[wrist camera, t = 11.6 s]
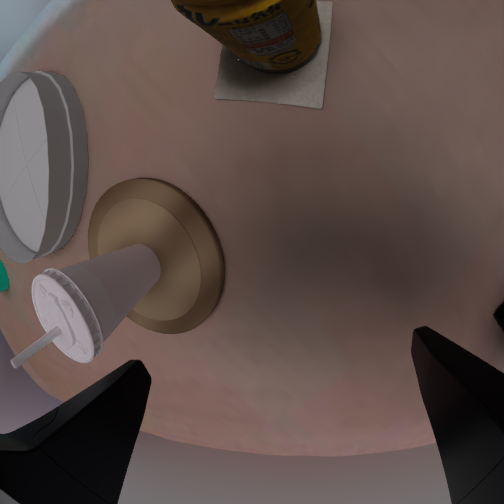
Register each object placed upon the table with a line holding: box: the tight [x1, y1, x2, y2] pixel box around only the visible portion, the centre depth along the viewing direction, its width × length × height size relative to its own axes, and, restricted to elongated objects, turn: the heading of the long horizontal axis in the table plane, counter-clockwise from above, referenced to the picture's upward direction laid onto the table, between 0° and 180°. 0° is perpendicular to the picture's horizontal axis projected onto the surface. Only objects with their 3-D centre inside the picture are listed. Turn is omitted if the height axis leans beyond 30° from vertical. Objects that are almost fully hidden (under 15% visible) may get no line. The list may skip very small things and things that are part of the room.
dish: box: [0, 71, 89, 264], centre depth 23 cm, size 22×22×5 cm
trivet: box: [88, 178, 224, 334], centre depth 23 cm, size 14×14×1 cm
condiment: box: [171, 0, 333, 109], centre depth 10 cm, size 7×8×12 cm
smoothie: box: [11, 244, 161, 368], centre depth 17 cm, size 6×6×14 cm
